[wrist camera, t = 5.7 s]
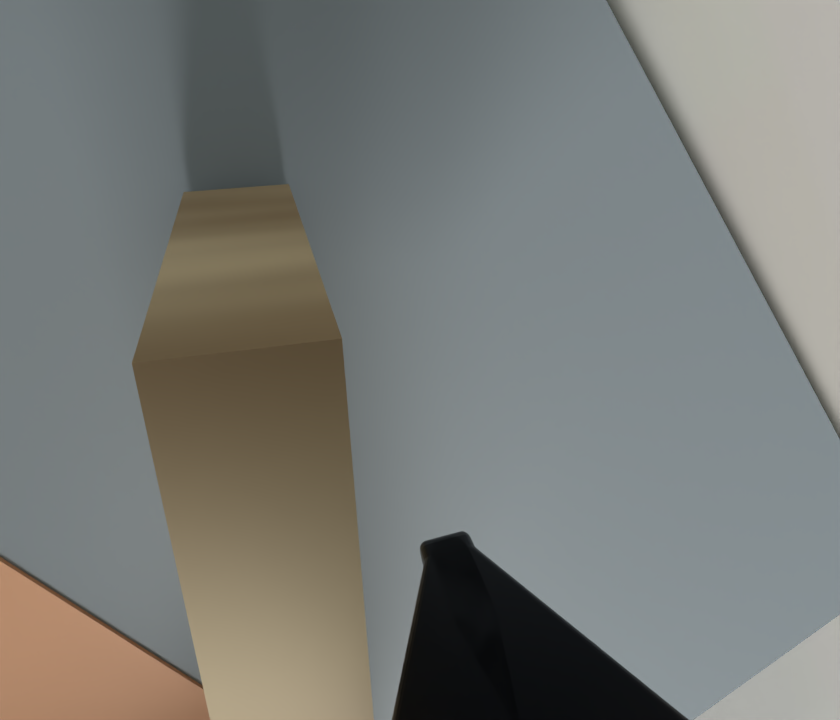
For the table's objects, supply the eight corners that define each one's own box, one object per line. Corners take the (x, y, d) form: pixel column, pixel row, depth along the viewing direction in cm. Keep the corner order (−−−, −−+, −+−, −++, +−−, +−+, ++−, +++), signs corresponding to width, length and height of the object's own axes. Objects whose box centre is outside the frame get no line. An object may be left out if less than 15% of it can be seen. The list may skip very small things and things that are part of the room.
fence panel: (354, 792, 13) (410, 1153, 9) (287, 808, 13) (312, 1187, 9) (288, 183, 9) (341, 339, 4) (183, 192, 8) (130, 361, 4)
